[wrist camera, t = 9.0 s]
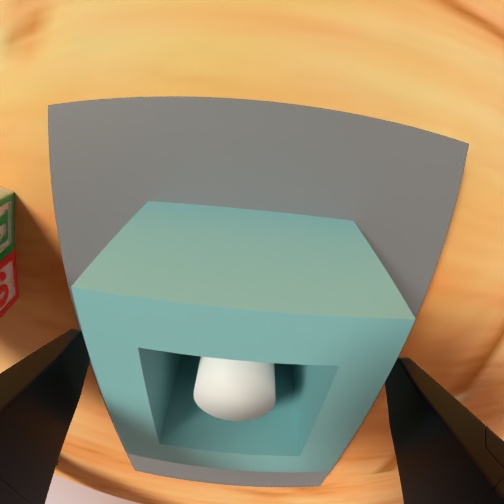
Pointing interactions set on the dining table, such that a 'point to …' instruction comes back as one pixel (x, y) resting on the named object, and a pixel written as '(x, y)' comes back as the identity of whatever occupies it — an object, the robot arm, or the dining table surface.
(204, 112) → the grey piece
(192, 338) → the teal hollow block
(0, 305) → the stack of blocks
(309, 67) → the dining table surface
